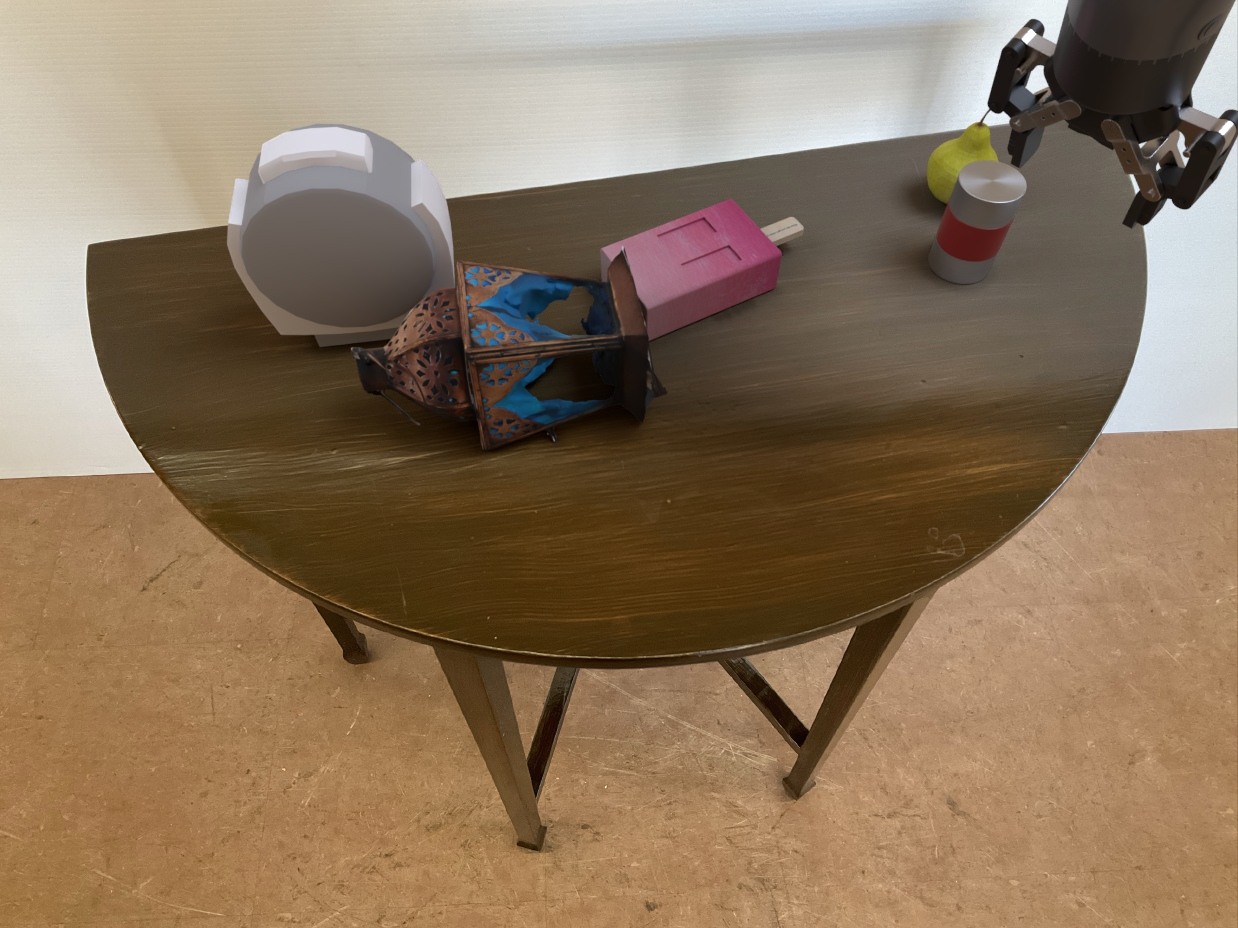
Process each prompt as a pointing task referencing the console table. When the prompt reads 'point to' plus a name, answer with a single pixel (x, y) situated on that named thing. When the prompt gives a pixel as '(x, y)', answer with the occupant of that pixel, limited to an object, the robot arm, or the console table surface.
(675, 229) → the popsicle
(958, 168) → the fruit
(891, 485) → the console table surface
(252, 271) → the alarm clock
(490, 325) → the lantern
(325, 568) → the console table surface
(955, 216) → the can
